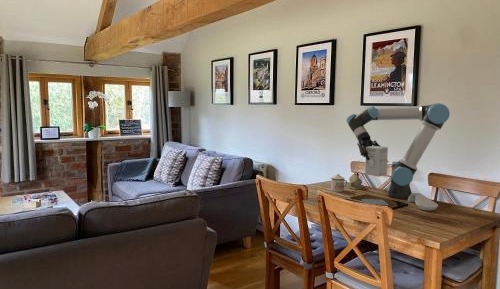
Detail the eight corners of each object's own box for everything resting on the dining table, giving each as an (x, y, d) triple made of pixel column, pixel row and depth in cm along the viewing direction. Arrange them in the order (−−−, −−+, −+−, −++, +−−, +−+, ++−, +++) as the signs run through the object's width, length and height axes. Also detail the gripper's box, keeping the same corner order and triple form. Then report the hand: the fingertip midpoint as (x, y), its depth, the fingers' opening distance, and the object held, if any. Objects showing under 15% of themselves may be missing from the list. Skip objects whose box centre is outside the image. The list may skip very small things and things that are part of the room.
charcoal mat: (382, 201, 236) (382, 199, 236) (388, 207, 223) (389, 205, 223) (361, 200, 236) (361, 199, 236) (366, 206, 224) (366, 204, 223)
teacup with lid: (334, 192, 259) (335, 175, 258) (328, 189, 268) (329, 173, 267) (350, 191, 262) (351, 174, 261) (343, 188, 271) (344, 172, 270)
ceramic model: (365, 189, 271) (366, 175, 270) (350, 189, 270) (351, 175, 269) (358, 185, 285) (358, 172, 284) (343, 185, 284) (344, 172, 283)
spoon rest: (441, 212, 214) (442, 200, 213) (421, 212, 213) (422, 200, 212) (419, 202, 237) (420, 190, 236) (401, 202, 236) (402, 190, 235)
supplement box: (373, 172, 235) (374, 145, 233) (387, 174, 227) (388, 146, 226) (364, 174, 229) (365, 146, 227) (378, 176, 221) (379, 148, 220)
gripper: (372, 138, 245) (390, 166, 233) (344, 139, 234) (361, 168, 222) (379, 131, 240) (397, 158, 227) (350, 131, 229) (368, 160, 217)
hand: (379, 163), depth 225 cm, fingers closed on supplement box, 11 cm apart
